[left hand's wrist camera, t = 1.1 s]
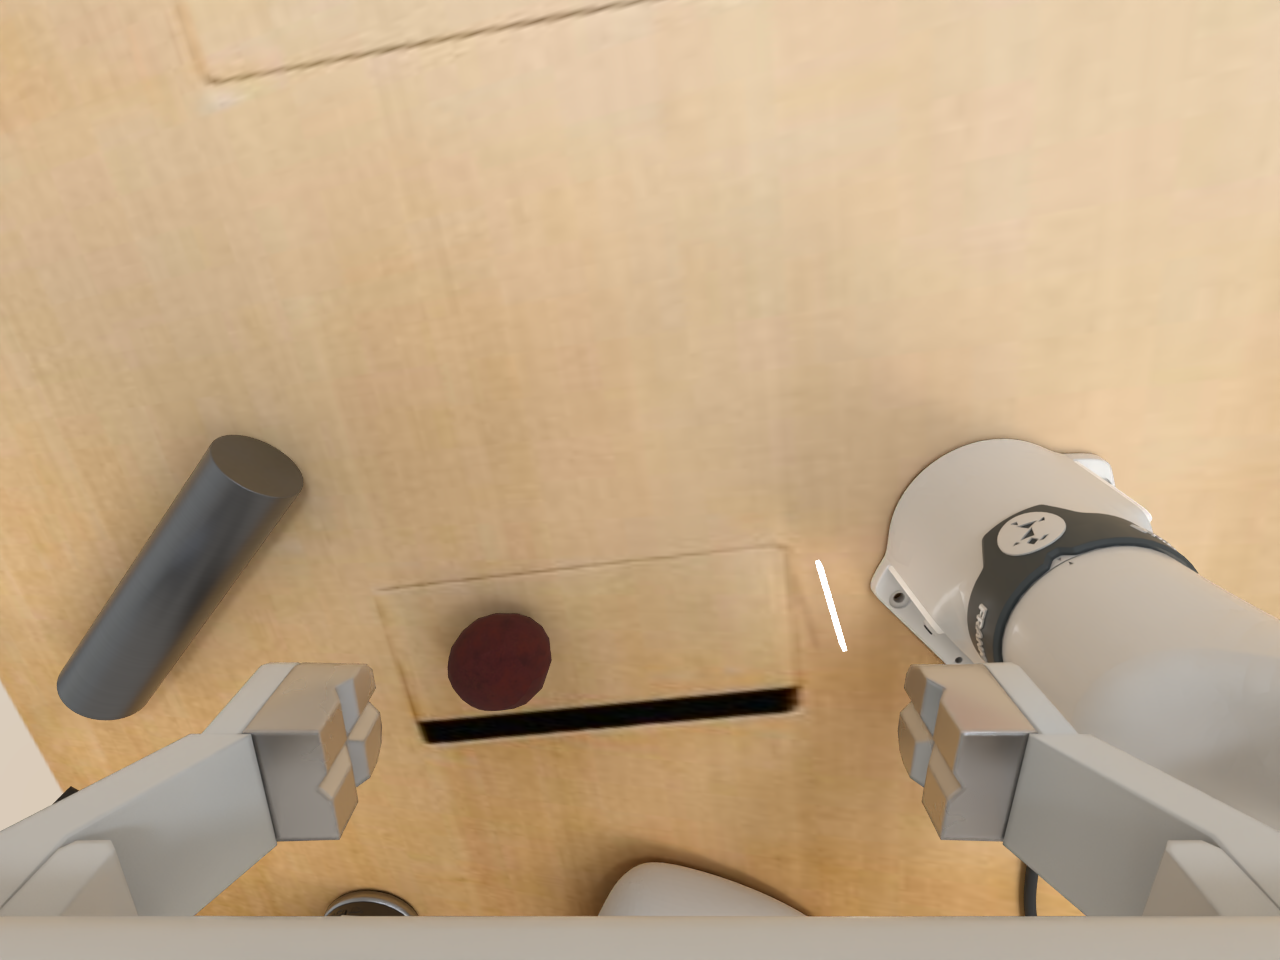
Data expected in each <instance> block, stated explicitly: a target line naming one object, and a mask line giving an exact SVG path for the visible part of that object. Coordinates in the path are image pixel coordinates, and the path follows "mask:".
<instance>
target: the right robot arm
mask: <svg viewBox="0 0 1280 960" xmlns="http://www.w3.org/2000/svg"><path fill="white" fill-rule="evenodd" d="M78 791H79V790H77V789H75V788H73V787H70V788H68V789H67V790H66V791H65V792H64V793H63V794H62V795H61V797H59V798H58V799H57V800H56V801H55V802H54V803H53V804H55V803H57V802H59V801H60V800H62V799H64V798H66V797H68V796H70V795H72V794H74V793H76V792H78ZM53 804H52V805H53ZM324 916H418V915H417V913H416V912H415V911H414V910H413V909H412V908H411V907H410V906H409V905H408V904H407V903H405V902H404V901H402V900H401V899H399V898H397V897H394V896H392V895H389V894H386V893H382V892H377V891H357V892H352V893H348V894H346V895H343V896H341V897H339V898H338V899H336V900H335V901H333V902H332V903H331V904H330V906H329V907H328V909H327V911H326V913H325V915H324Z"/></svg>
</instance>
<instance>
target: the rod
mask: <svg viewBox="0 0 1280 960" xmlns="http://www.w3.org/2000/svg"><path fill="white" fill-rule="evenodd" d="M302 487H303V477H302V475H301V472H300V471H299V469H298V468H297V466H296V465H295V464H294V463H293V462H292V461H291V460H290V459H289V458H288V457H287V456H286V455H285V454H283V453H282V452H281V451H279V450H278V449H276V448H274V447H273V446H271V445H269V444H267V443H265V442H262V441H260V440H257V439H254V438H251V437H246V436H241V435H226V436H222V437H219V438H217V439H216V440H214V441H213V442H212V444H211V445H210V447H209V448H208V450H207V451H206V453H205V454H204V456H203V457H202V459H201V460H200V462H199V464H198V465H197V467H196V468H195V470H194V471H193V473H192V474H191V476H190V477H189V479H188V480H187V482H186V483H185V485H184V486H183V488H182V489H181V491H180V492H179V494H178V495H177V497H176V498H175V500H174V501H173V503H172V504H171V506H170V507H169V509H168V511H167V512H166V514H165V515H164V517H163V518H162V520H161V521H160V523H159V524H158V526H157V527H156V529H155V530H154V532H153V533H152V535H151V536H150V538H149V539H148V541H147V542H146V544H145V545H144V547H143V548H142V550H141V551H140V553H139V554H138V556H137V558H136V559H135V561H134V562H133V564H132V565H131V567H130V568H129V570H128V571H127V573H126V574H125V576H124V577H123V579H122V580H121V582H120V583H119V585H118V586H117V588H116V589H115V591H114V592H113V594H112V595H111V597H110V598H109V600H108V601H107V603H106V605H105V606H104V608H103V609H102V611H101V612H100V614H99V615H98V617H97V618H96V620H95V621H94V623H93V624H92V626H91V627H90V629H89V630H88V632H87V633H86V635H85V636H84V638H83V639H82V641H81V642H80V644H79V645H78V647H77V648H76V650H75V652H74V653H73V655H72V656H71V658H70V659H69V661H68V662H67V664H66V665H65V667H64V668H63V670H62V671H61V673H60V675H59V677H58V680H57V691H58V694H59V696H60V698H61V700H62V701H63V703H64V704H65V705H66V706H67V707H68V708H69V709H71V710H72V711H74V712H75V713H77V714H79V715H82V716H84V717H87V718H91V719H97V720H116V719H121V718H125V717H127V716H130V715H132V714H134V713H136V712H138V711H139V710H140V709H142V708H143V707H144V706H145V705H146V703H147V702H148V701H149V699H150V698H151V696H152V695H153V694H154V692H155V691H156V690H157V688H158V687H159V685H160V684H161V683H162V681H163V680H164V679H165V677H166V676H167V674H168V673H169V672H170V670H171V669H172V668H173V666H174V665H175V663H176V662H177V661H178V659H179V658H180V657H181V655H182V654H183V652H184V651H185V650H186V648H187V647H188V646H189V644H190V643H191V641H192V640H193V639H194V637H195V636H196V634H197V633H198V632H199V630H200V629H201V628H202V626H203V625H204V623H205V622H206V621H207V619H208V618H209V617H210V615H211V614H212V612H213V611H214V610H215V608H216V607H217V606H218V604H219V603H220V601H221V600H222V599H223V597H224V596H225V595H226V593H227V592H228V590H229V589H230V588H231V586H232V585H233V583H234V582H235V581H236V579H237V578H238V577H239V575H240V574H241V572H242V571H243V570H244V568H245V567H246V566H247V564H248V563H249V561H250V560H251V559H252V557H253V556H254V555H255V553H256V552H257V550H258V549H259V548H260V546H261V545H262V544H263V542H264V541H265V539H266V538H267V537H268V535H269V534H270V533H271V531H272V530H273V528H274V527H275V526H276V524H277V523H278V521H279V520H280V519H281V517H282V516H283V515H284V513H285V512H286V510H287V509H288V508H289V506H290V505H291V504H292V502H293V501H294V499H295V498H296V497H297V495H298V494H299V493H300V491H301V489H302Z"/></svg>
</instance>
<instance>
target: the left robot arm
mask: <svg viewBox="0 0 1280 960" xmlns="http://www.w3.org/2000/svg"><path fill="white" fill-rule="evenodd" d="M1151 520H1152V516H1151V515H1150V513H1149V512H1148V511H1147V510H1146V509H1145V508H1144V507H1142V506H1141V505H1140V504H1138V503H1137V502H1135V501H1134V500H1133V499H1131V498H1130V497H1128V496H1127V495H1126V494H1124V493H1123V492H1121V491H1120V490H1118V489H1117V488H1116V487H1115V482H1114V477H1113V472H1112V468H1111V466H1110V464H1109V463H1108V462H1107V461H1105V460H1104V459H1103V458H1101V457H1100V456H1098V455H1095V454H1087V453H1071V454H1061V453H1057V452H1054V451H1051V450H1048V449H1046V448H1044V447H1041V446H1039V445H1037V444H1034V443H1031V442H1027V441H1022V440H1016V439H990V440H984V441H979V442H975V443H971V444H968V445H965V446H962V447H960V448H957V449H955V450H953V451H951V452H949V453H947V454H945V455H943V456H942V457H940V458H939V459H937V460H936V461H934V462H933V463H932V464H930V465H929V466H928V467H926V468H925V469H924V470H923V471H922V472H921V473H920V474H919V475H918V476H917V477H916V478H915V479H914V480H913V481H912V483H911V484H910V485H909V486H908V488H907V489H906V490H905V492H904V493H903V495H902V497H901V498H900V500H899V502H898V504H897V506H896V508H895V511H894V514H893V516H892V520H891V523H890V528H889V536H888V544H887V550H886V553H885V556H884V558H883V559H882V561H881V563H880V564H879V566H878V568H877V569H876V571H875V573H874V575H873V577H872V580H871V590H872V592H873V593H874V595H875V596H876V597H877V598H878V599H879V600H880V601H881V602H882V603H883V604H884V605H885V606H886V607H887V608H888V609H889V610H890V611H891V612H892V613H893V614H894V615H896V616H897V617H898V618H899V619H900V620H901V621H902V622H903V623H904V624H905V625H906V626H907V627H908V628H909V629H910V630H911V631H912V632H913V633H914V634H915V635H916V636H917V637H918V638H919V639H920V640H921V641H922V642H923V643H925V644H926V645H927V646H928V647H929V648H930V649H931V650H932V651H933V652H934V653H935V654H936V655H937V656H938V657H939V658H940V659H941V660H942V661H943V662H944V663H945V664H940V665H911V666H910V668H909V670H908V672H907V674H906V679H905V685H904V689H905V691H906V692H907V694H908V696H909V698H910V699H911V702H910V703H909V704H908V705H907V706H906V707H905V708H904V709H903V710H902V711H901V712H900V718H899V726H898V738H899V749H900V753H901V757H902V760H903V764H904V766H905V768H906V770H907V772H908V774H909V777H910V778H911V779H913V780H914V781H916V782H917V783H918V784H920V785H921V786H922V787H924V791H923V797H922V803H923V805H924V807H925V809H926V811H927V813H928V815H929V817H930V819H931V821H932V823H933V825H934V827H935V829H936V831H937V833H938V835H939V837H940V839H941V840H970V841H1003V845H1004V846H1005V847H1006V848H1007V849H1009V850H1010V851H1011V852H1012V853H1013V854H1014V855H1016V856H1017V857H1018V858H1019V859H1020V860H1022V861H1023V862H1024V863H1025V864H1026V865H1027V867H1026V875H1025V885H1024V909H1025V916H194V915H195V914H197V913H198V912H199V911H200V910H201V909H202V908H204V907H205V906H206V905H207V904H208V903H210V902H211V901H212V900H213V899H214V898H215V897H217V896H218V895H219V894H220V893H221V892H222V891H224V890H225V889H226V888H227V887H228V886H229V885H231V884H232V883H233V882H234V881H235V880H236V879H238V878H239V877H240V876H241V875H242V874H244V873H245V872H246V871H247V870H248V869H249V868H251V867H252V866H253V865H254V864H255V863H256V862H258V861H259V860H260V859H261V858H262V857H263V856H265V855H266V854H267V853H268V852H269V851H271V850H272V849H273V848H274V847H275V846H276V845H277V841H309V840H339V839H340V837H341V835H342V833H343V831H344V829H345V827H346V825H347V823H348V821H349V819H350V817H351V815H352V813H353V811H354V809H355V807H356V805H357V803H358V797H357V791H356V787H358V786H359V785H360V784H362V783H363V782H364V781H366V780H367V779H369V778H370V777H371V774H372V772H373V770H374V768H375V766H376V764H377V761H378V756H379V752H380V747H381V743H382V724H381V717H380V712H379V711H378V710H377V709H376V708H375V707H374V706H373V705H372V704H371V703H370V702H369V699H370V698H371V696H372V694H373V692H374V690H375V689H376V686H375V681H374V676H373V671H372V669H371V668H370V667H369V666H368V665H367V664H341V663H267V664H264V665H261V666H260V667H259V668H258V670H257V671H256V672H255V673H254V674H253V675H252V676H251V678H250V679H249V680H248V681H247V682H246V683H245V684H244V686H243V687H242V688H241V689H240V690H239V691H238V692H237V694H236V695H235V696H234V697H233V698H232V699H231V700H230V702H229V703H228V704H227V705H226V706H225V707H224V708H223V710H222V711H221V712H220V713H219V714H218V715H217V716H216V718H215V719H214V720H213V721H212V722H211V723H210V724H209V726H208V727H207V728H206V729H205V730H204V731H203V732H202V734H189V735H187V736H185V737H183V738H181V739H179V740H178V741H176V742H174V743H172V744H170V745H168V746H166V747H164V748H162V749H160V750H158V751H156V752H154V753H152V754H150V755H148V756H146V757H144V758H142V759H140V760H139V761H137V762H135V763H133V764H131V765H129V766H127V767H125V768H123V769H121V770H119V771H117V772H115V773H113V774H111V775H109V776H107V777H105V778H103V779H101V780H100V781H98V782H96V783H94V784H92V785H90V786H88V787H86V788H84V789H82V790H80V791H78V792H76V793H74V794H72V795H70V796H68V797H66V798H64V799H62V800H60V801H59V802H57V803H55V804H53V805H51V806H49V807H47V808H45V809H43V810H41V811H39V812H37V813H35V814H33V815H31V816H29V817H27V818H25V819H23V820H21V821H20V822H18V823H16V824H14V825H12V826H10V827H8V828H6V829H4V830H2V831H0V960H1280V619H1278V618H1276V617H1274V616H1272V615H1270V614H1268V613H1266V612H1265V611H1263V610H1261V609H1259V608H1257V607H1255V606H1253V605H1252V604H1250V603H1248V602H1246V601H1244V600H1243V599H1241V598H1239V597H1237V596H1235V595H1234V594H1232V593H1230V592H1228V591H1227V590H1225V589H1223V588H1221V587H1220V586H1218V585H1216V584H1215V583H1213V582H1211V581H1209V580H1208V579H1206V578H1204V577H1203V576H1201V575H1199V574H1198V572H1197V571H1196V569H1195V568H1194V567H1193V565H1192V564H1191V563H1190V562H1189V561H1188V560H1187V559H1186V558H1185V557H1184V556H1183V555H1181V554H1180V553H1179V552H1178V551H1177V550H1176V549H1175V548H1173V547H1172V546H1171V545H1170V544H1169V543H1167V542H1166V541H1165V540H1163V539H1162V538H1160V537H1159V536H1157V535H1156V534H1154V533H1153V531H1152V527H1151V524H1150V521H1151ZM815 562H816V566H817V569H818V573H819V576H820V579H821V583H822V586H823V590H824V593H825V596H826V600H827V603H828V607H829V610H830V613H831V617H832V620H833V623H834V627H835V630H836V634H837V637H838V640H839V644H840V646H841V648H842V650H843V651H846V650H847V648H846V645H845V641H844V638H843V635H842V631H841V628H840V624H839V621H838V617H837V614H836V610H835V607H834V604H833V600H832V597H831V593H830V590H829V586H828V583H827V580H826V576H825V573H824V569H823V566H822V564H821V562H820V560H817V561H815ZM897 593H901V595H900V596H899V597H897V598H894V596H895V594H897ZM1038 875H1039V876H1040V877H1041V878H1043V879H1044V880H1045V881H1046V882H1047V883H1048V884H1050V885H1051V886H1052V887H1053V888H1054V889H1055V890H1057V891H1058V892H1059V893H1060V894H1061V895H1062V896H1064V897H1065V898H1066V899H1067V900H1068V901H1070V902H1071V903H1072V904H1073V905H1074V906H1075V907H1077V908H1078V909H1079V910H1080V911H1081V912H1082V913H1084V914H1085V915H1086V916H1037V913H1036V889H1037V880H1038Z"/></svg>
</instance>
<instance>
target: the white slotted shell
mask: <svg viewBox="0 0 1280 960" xmlns="http://www.w3.org/2000/svg"><path fill="white" fill-rule="evenodd" d="M598 916H806V915H804V914H803V913H801V912H799V911H798V910H796V909H794V908H792V907H790V906H788V905H786V904H785V903H783V902H781V901H779V900H776V899H774V898H772V897H770V896H768V895H766V894H764V893H761V892H759V891H757V890H754V889H752V888H749V887H747V886H744V885H742V884H739V883H736V882H734V881H731V880H728V879H725V878H722V877H719V876H716V875H713V874H709V873H706V872H703V871H699V870H695V869H692V868H688V867H684V866H679V865H674V864H668V863H659V862H650V863H643V864H640V865H637V866H635V867H633V868H632V869H631V870H629V871H628V872H627V873H626V874H624V875H623V876H622V877H621V878H620V879H619V880H618V882H617V883H616V884H615V886H614V887H613V889H612V890H611V892H610V894H609V895H608V897H607V899H606V901H605V903H604V905H603V906H602V908H601V910H600V913H599V915H598Z"/></svg>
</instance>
